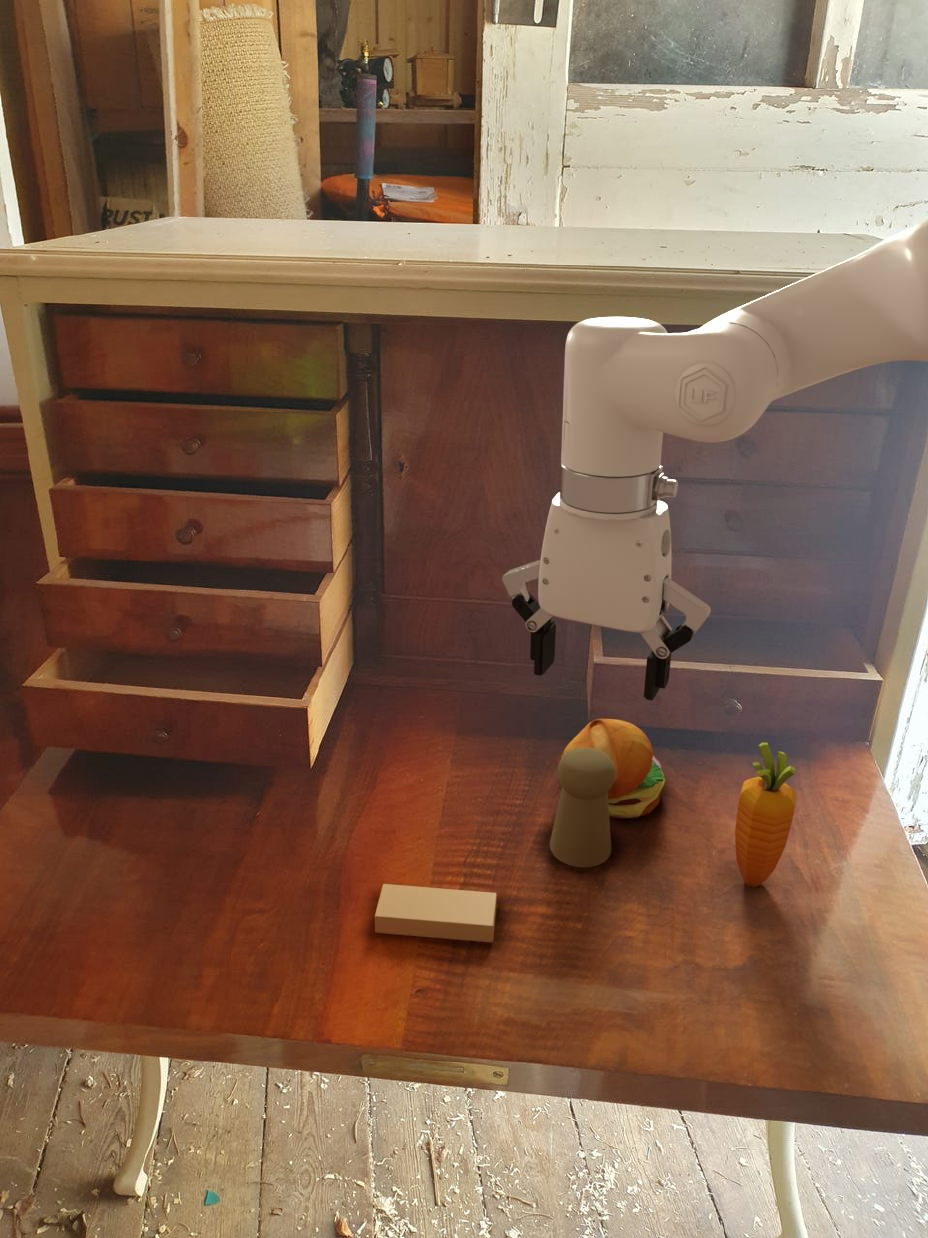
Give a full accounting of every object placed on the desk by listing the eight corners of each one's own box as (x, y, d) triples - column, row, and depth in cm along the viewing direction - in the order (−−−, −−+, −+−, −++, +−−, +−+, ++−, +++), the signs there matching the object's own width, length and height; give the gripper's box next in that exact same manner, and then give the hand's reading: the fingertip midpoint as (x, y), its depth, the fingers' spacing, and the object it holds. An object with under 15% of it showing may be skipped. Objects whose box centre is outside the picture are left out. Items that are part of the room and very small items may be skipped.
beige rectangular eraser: (496, 914, 85) (496, 892, 83) (492, 948, 81) (493, 926, 80) (383, 905, 85) (383, 883, 84) (375, 938, 82) (374, 916, 81)
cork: (546, 870, 90) (552, 772, 85) (550, 829, 95) (555, 735, 90) (611, 876, 89) (621, 779, 84) (611, 835, 94) (620, 741, 90)
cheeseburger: (689, 799, 99) (685, 728, 94) (617, 860, 95) (609, 790, 89) (617, 754, 106) (609, 685, 101) (547, 809, 102) (535, 740, 96)
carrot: (786, 907, 86) (815, 767, 79) (731, 906, 86) (755, 767, 79) (770, 869, 90) (796, 734, 84) (717, 869, 90) (739, 734, 84)
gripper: (732, 487, 74) (709, 682, 81) (524, 460, 81) (520, 642, 88) (710, 517, 68) (687, 725, 75) (486, 485, 74) (486, 678, 82)
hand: (597, 680), depth 82 cm, fingers open, 9 cm apart
